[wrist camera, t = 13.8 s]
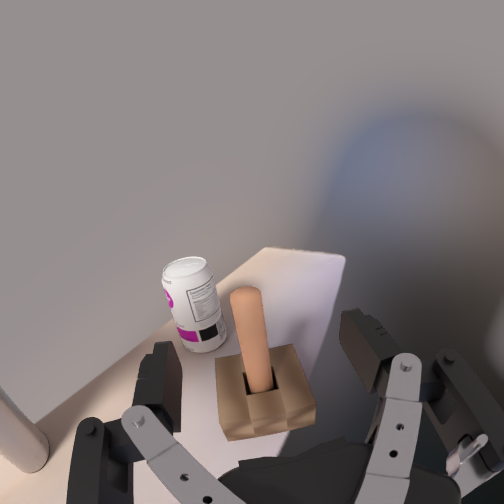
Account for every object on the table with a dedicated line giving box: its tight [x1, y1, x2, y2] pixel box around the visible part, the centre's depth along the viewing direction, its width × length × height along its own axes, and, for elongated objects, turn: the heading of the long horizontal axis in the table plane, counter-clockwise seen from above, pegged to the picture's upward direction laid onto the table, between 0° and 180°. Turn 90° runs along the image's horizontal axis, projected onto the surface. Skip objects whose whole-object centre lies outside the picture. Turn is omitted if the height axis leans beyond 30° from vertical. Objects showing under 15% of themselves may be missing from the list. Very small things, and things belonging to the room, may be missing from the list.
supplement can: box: [162, 257, 227, 353], centre depth 44 cm, size 8×8×15 cm
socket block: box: [215, 344, 316, 441], centre depth 32 cm, size 11×11×5 cm
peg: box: [230, 287, 274, 395], centre depth 29 cm, size 3×3×18 cm
